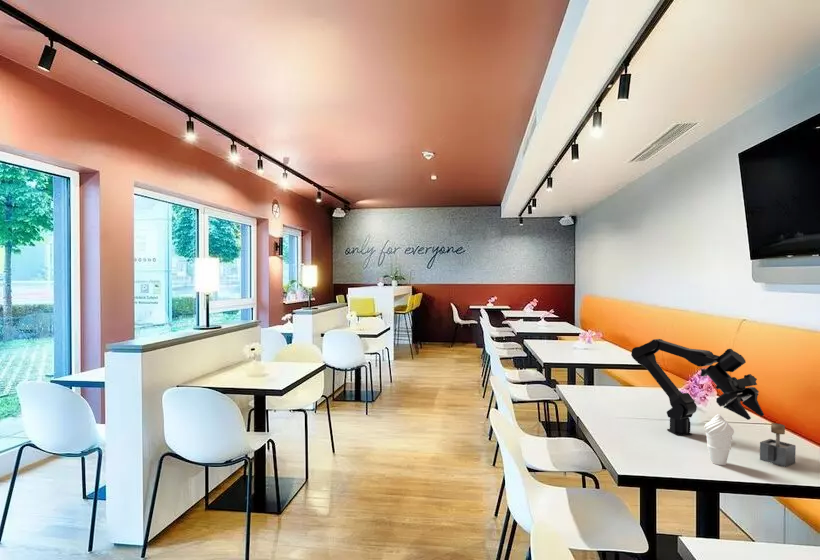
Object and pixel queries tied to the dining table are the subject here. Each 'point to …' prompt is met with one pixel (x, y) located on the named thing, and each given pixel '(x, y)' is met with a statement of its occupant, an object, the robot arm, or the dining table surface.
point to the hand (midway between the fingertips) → (756, 417)
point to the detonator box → (777, 453)
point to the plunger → (777, 433)
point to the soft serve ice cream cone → (718, 439)
